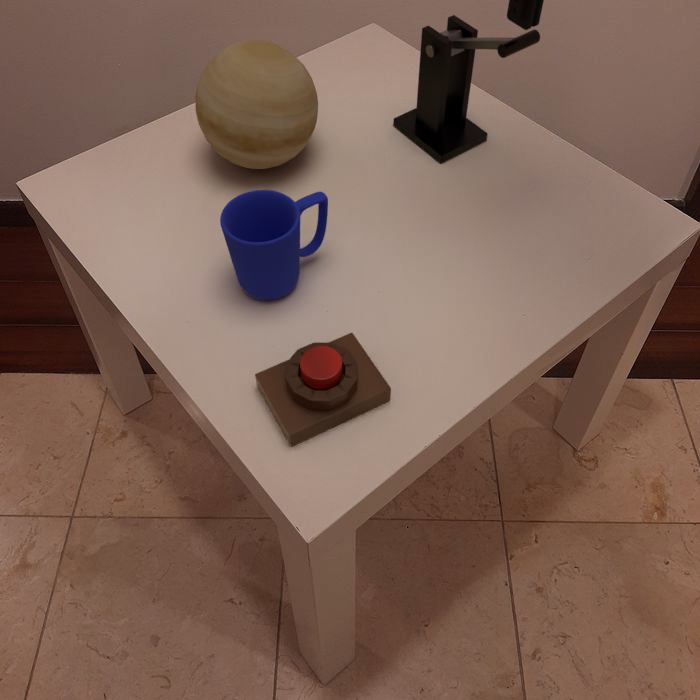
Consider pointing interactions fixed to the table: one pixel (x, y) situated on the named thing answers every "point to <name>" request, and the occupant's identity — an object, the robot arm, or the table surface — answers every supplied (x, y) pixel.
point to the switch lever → (492, 42)
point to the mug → (269, 239)
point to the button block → (322, 391)
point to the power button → (321, 367)
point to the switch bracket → (443, 96)
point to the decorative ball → (256, 104)
